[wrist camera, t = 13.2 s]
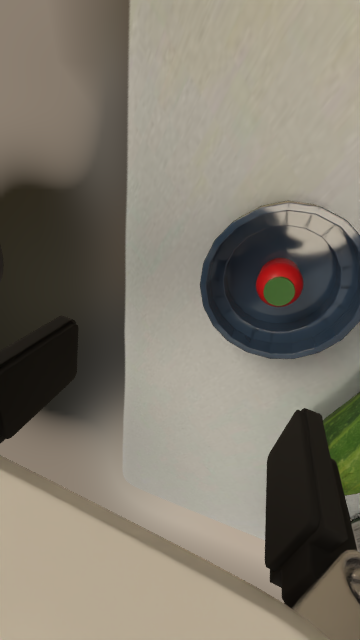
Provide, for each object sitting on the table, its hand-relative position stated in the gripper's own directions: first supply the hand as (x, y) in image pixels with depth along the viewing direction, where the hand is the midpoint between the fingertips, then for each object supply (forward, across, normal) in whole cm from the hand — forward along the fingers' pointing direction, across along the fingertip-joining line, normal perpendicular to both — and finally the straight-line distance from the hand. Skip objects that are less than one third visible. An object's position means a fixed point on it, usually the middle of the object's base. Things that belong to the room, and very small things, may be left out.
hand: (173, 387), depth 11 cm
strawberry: (+20, -5, 0) cm, 21 cm away
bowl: (+21, -4, 0) cm, 21 cm away
